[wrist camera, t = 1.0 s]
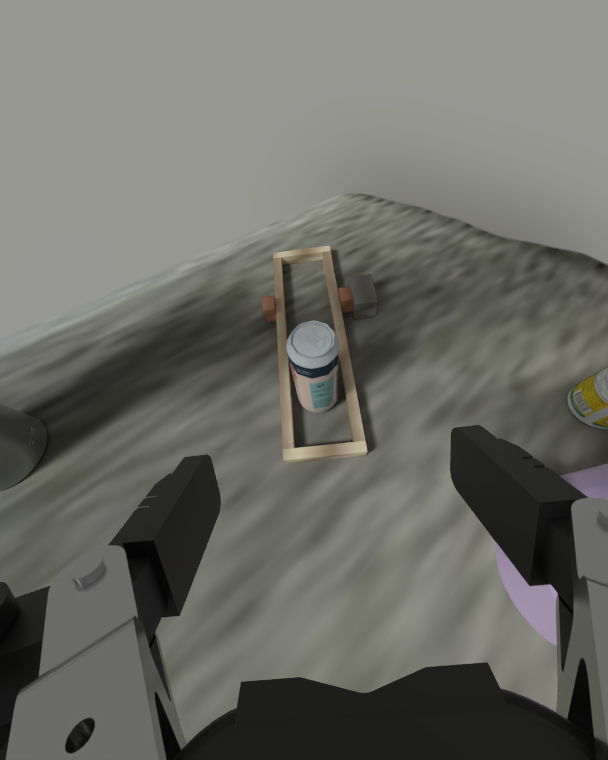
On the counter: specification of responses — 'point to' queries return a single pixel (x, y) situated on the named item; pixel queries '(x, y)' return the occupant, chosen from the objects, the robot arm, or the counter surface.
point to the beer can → (314, 364)
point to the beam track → (362, 305)
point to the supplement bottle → (591, 400)
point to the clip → (542, 599)
